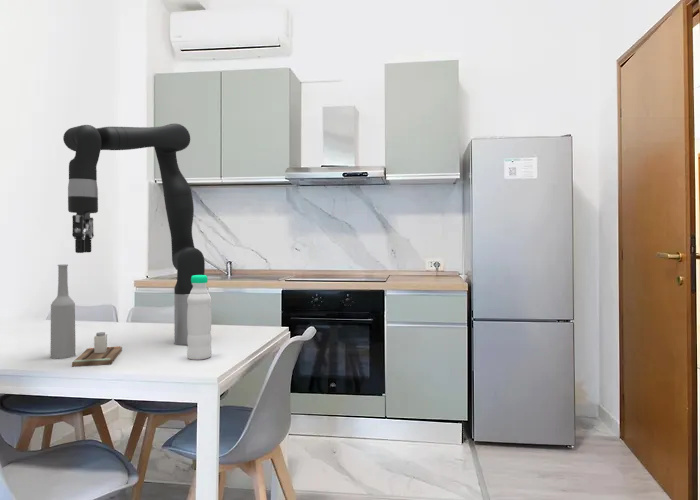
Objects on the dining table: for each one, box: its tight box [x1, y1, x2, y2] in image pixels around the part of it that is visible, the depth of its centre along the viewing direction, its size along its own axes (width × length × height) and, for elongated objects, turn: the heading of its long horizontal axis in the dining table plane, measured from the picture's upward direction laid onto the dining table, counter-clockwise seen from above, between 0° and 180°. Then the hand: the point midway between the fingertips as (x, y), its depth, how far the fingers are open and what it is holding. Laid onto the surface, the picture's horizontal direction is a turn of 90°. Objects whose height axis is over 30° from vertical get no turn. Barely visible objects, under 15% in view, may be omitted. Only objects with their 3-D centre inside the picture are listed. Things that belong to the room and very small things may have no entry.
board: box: [71, 345, 123, 368], centre depth 145 cm, size 10×18×2 cm, turn 16°
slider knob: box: [93, 331, 108, 353], centre depth 148 cm, size 3×3×6 cm
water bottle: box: [186, 274, 212, 361], centre depth 147 cm, size 7×7×25 cm
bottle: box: [50, 264, 76, 360], centre depth 148 cm, size 7×7×28 cm
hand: (83, 252), depth 139 cm, fingers open, 8 cm apart
